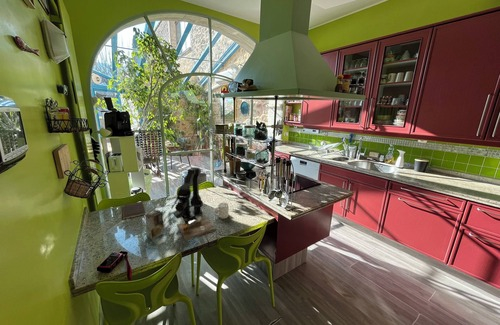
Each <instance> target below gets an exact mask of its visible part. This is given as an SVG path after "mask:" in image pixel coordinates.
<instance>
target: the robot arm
mask: <svg viewBox="0 0 500 325" xmlns="http://www.w3.org/2000/svg"><path fill="white" fill-rule="evenodd" d="M186 173H187V174H186V176H185V179H184V182H183V184H182V185H181V186H179V189H178V192H177V197H176V200H178V201H177V203H176V204H175V207H174V209H175V211H173V212H172V215H173V216H174V217H175V218H176V219H181V218H182V219H183V222H185V223H188V222H190V221H193V220H195V219H196V216H197V215H200V214H203V211H202V207H203V206H204V201H203V200H202V197H201V196H200V192H199V190H200V188H199V187H200V186H199V179H200V176H201V173H202V170H201V168H200V167H196V166H195V167H193V166H192V167H190V168H188V169H187V172H186ZM191 185H192V191H191ZM191 195H192V197H191ZM191 208H193V210H191Z"/></svg>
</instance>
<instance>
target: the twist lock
mask: <svg viewBox="0 0 500 325" xmlns="http://www.w3.org/2000/svg"><path fill="white" fill-rule="evenodd" d="M195 216H196V219H195V220H193V221H190V222H188V223H184V224H183V230H187V228H189V227H191V226H193V225H195V224H200V223H201V217H202V216H201V215H195Z"/></svg>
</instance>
